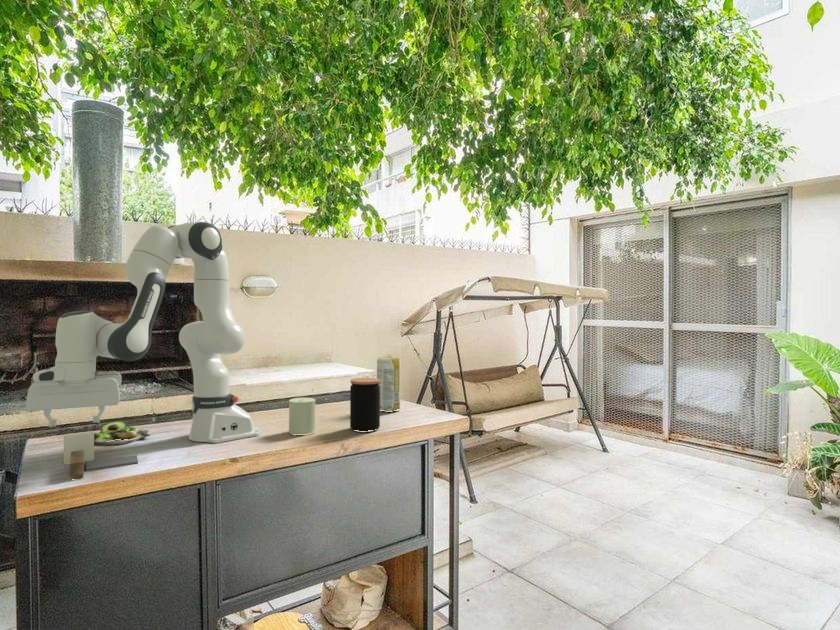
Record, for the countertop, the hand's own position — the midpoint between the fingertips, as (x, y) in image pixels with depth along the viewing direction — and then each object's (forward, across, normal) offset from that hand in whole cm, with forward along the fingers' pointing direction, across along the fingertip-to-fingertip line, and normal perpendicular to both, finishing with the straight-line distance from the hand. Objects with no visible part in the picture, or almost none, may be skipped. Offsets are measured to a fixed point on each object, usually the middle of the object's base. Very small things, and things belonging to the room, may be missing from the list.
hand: (74, 424), depth 130 cm
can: (+12, -65, -10) cm, 67 cm away
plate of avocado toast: (+13, -10, -34) cm, 38 cm away
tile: (+13, -1, -11) cm, 17 cm away
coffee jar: (+12, -86, -3) cm, 87 cm away
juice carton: (+11, -108, -26) cm, 112 cm away
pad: (+13, -9, -4) cm, 16 cm away
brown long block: (+13, -1, 0) cm, 13 cm away
